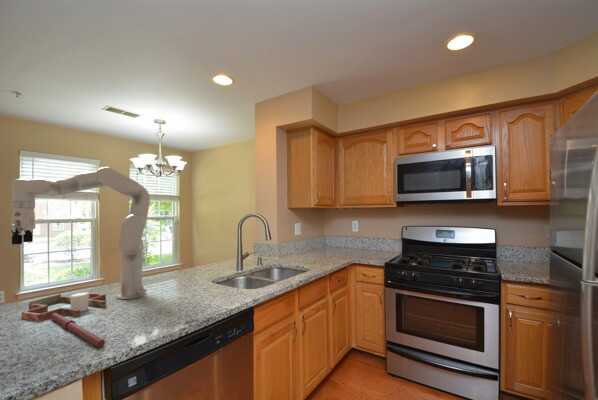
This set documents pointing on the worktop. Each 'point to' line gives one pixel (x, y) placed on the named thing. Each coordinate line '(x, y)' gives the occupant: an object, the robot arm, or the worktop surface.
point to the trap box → (40, 308)
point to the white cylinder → (79, 301)
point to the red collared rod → (78, 330)
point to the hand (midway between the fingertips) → (22, 243)
